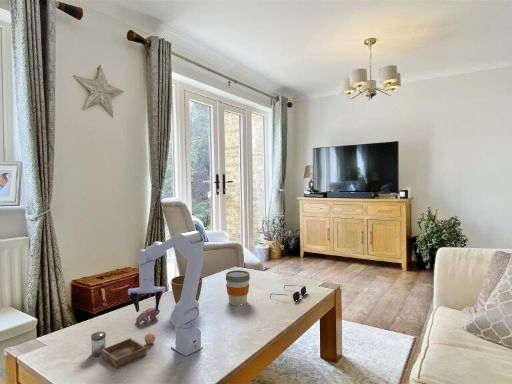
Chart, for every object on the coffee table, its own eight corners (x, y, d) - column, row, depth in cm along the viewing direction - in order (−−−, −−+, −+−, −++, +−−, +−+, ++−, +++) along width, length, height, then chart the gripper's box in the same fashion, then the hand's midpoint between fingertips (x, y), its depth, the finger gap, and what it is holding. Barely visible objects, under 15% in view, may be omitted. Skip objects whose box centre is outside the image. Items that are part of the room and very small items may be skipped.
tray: (146, 355, 116) (146, 347, 116) (116, 368, 107) (116, 360, 107) (130, 345, 123) (130, 337, 123) (101, 357, 114) (101, 349, 114)
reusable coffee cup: (251, 298, 172) (251, 270, 172) (248, 307, 160) (248, 277, 159) (228, 297, 174) (228, 269, 173) (223, 306, 161) (223, 276, 161)
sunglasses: (294, 303, 165) (293, 294, 165) (269, 302, 173) (268, 292, 173) (307, 293, 180) (306, 284, 180) (284, 292, 187) (283, 284, 188)
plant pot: (164, 314, 151) (164, 281, 150) (185, 304, 164) (185, 273, 163) (189, 321, 144) (188, 286, 143) (208, 309, 157) (208, 277, 157)
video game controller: (139, 328, 140) (143, 316, 138) (134, 321, 143) (138, 309, 141) (158, 320, 148) (162, 308, 146) (153, 313, 151) (157, 302, 149)
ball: (157, 343, 124) (157, 332, 124) (148, 347, 121) (148, 336, 121) (151, 339, 127) (151, 329, 127) (142, 343, 124) (142, 333, 124)
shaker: (108, 352, 117) (108, 334, 117) (94, 358, 114) (94, 339, 113) (102, 348, 120) (102, 330, 120) (89, 353, 117) (88, 335, 117)
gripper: (166, 274, 137) (166, 305, 137) (130, 276, 135) (131, 307, 135) (163, 279, 130) (164, 312, 130) (126, 281, 128) (127, 314, 128)
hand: (147, 310), depth 132 cm, fingers open, 7 cm apart
